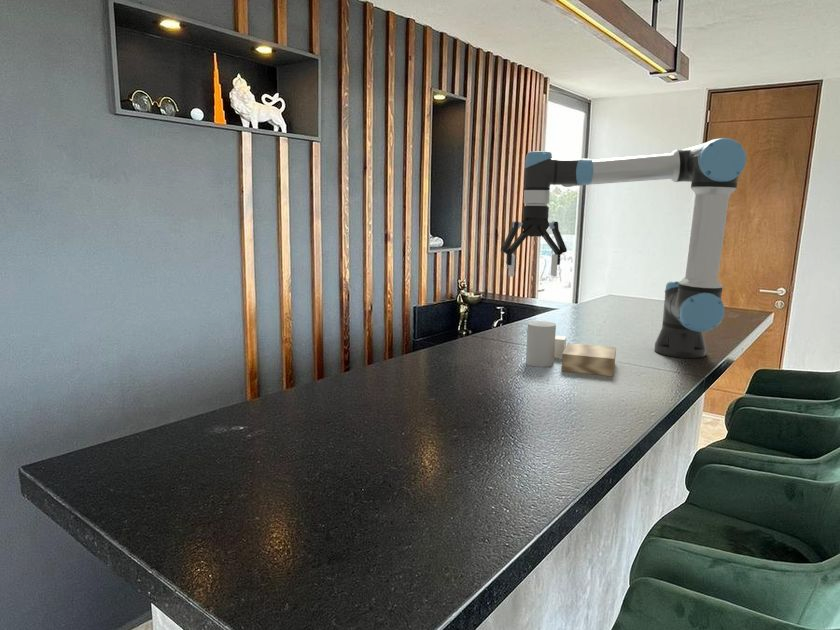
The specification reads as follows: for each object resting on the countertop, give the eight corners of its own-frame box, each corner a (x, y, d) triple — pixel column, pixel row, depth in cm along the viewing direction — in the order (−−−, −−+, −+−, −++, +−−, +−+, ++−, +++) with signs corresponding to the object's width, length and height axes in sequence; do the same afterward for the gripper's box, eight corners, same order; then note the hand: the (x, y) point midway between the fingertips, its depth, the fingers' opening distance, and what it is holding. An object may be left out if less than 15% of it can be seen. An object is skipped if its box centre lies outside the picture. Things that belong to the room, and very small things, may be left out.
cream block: (565, 355, 183) (566, 336, 182) (563, 358, 178) (564, 339, 177) (549, 353, 185) (550, 335, 184) (547, 357, 180) (548, 338, 179)
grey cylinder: (552, 360, 177) (554, 321, 174) (555, 367, 169) (557, 327, 166) (524, 359, 177) (526, 320, 175) (527, 366, 169) (528, 326, 167)
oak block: (614, 363, 173) (616, 347, 172) (613, 376, 160) (614, 358, 159) (566, 358, 178) (567, 343, 177) (561, 370, 165) (562, 353, 164)
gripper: (569, 205, 179) (565, 273, 183) (492, 204, 175) (489, 274, 179) (580, 205, 172) (576, 276, 176) (499, 204, 167) (497, 277, 171)
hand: (532, 275), depth 177 cm, fingers open, 13 cm apart
